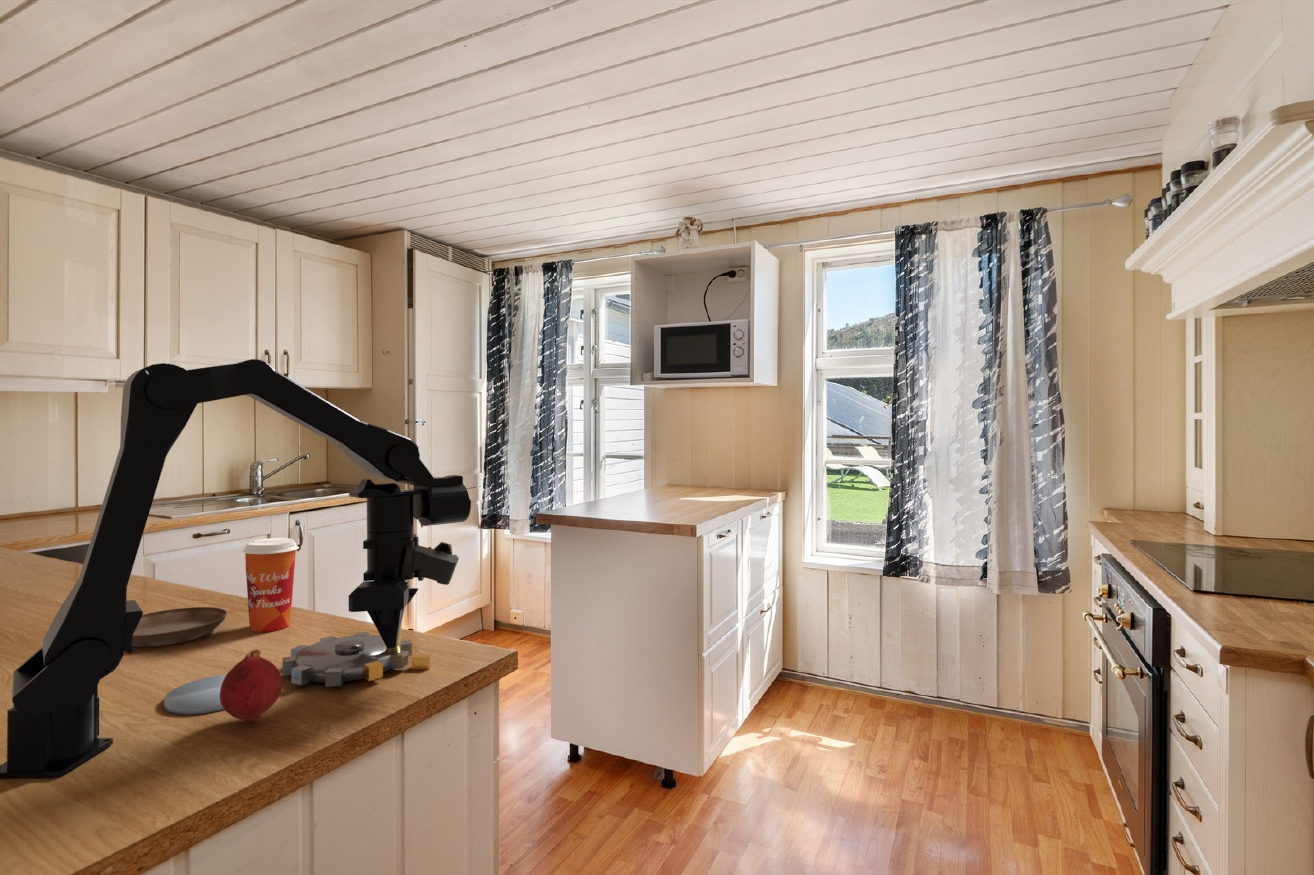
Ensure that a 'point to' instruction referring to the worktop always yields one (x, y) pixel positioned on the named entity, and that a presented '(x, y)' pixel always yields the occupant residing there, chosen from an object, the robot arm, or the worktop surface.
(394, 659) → the sprocket
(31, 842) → the worktop surface
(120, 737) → the worktop surface
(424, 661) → the wooden toy brick
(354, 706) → the worktop surface
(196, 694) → the coaster
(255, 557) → the paper cup
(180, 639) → the saucer
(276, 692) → the onion
